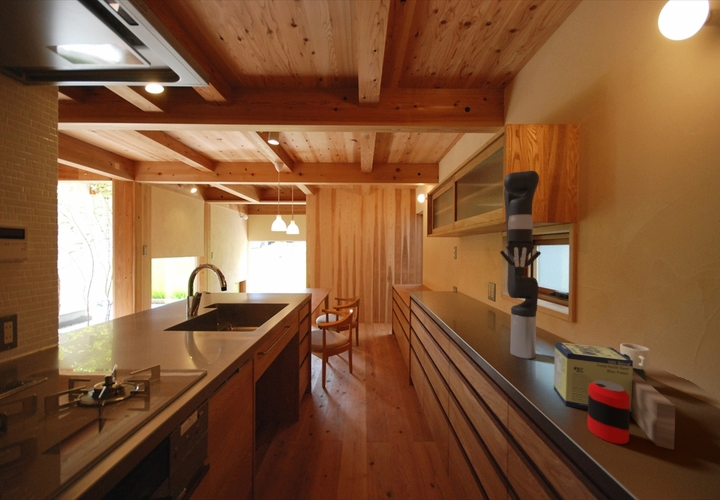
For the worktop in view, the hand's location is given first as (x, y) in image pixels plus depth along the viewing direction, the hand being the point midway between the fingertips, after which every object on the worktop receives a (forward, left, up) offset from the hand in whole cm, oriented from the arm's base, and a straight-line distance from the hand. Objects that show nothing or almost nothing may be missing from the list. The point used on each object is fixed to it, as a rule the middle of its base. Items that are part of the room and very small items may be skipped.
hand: (519, 277), depth 99 cm
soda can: (+26, +17, -35) cm, 47 cm away
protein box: (+10, +18, -35) cm, 41 cm away
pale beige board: (+13, +28, -35) cm, 46 cm away
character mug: (-10, +35, -35) cm, 51 cm away
